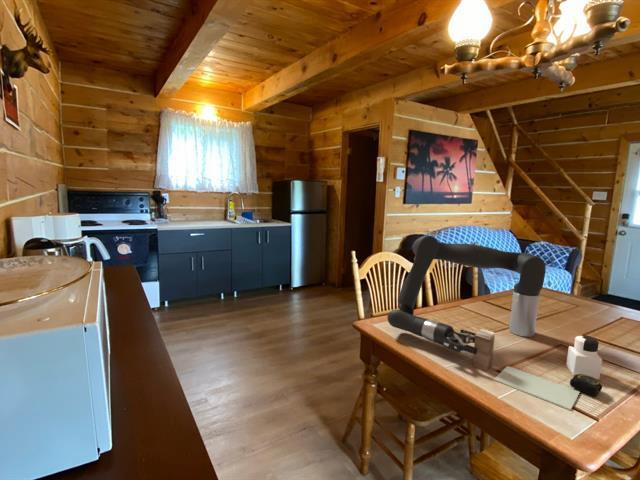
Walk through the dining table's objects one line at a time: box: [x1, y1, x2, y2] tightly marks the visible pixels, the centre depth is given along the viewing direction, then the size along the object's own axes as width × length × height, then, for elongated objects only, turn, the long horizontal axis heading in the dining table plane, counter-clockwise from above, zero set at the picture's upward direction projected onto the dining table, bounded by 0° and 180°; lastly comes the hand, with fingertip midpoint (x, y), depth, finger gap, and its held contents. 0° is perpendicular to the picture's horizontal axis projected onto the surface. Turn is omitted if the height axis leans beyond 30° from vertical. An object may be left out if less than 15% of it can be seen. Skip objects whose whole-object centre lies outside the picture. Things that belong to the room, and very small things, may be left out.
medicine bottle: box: [565, 335, 603, 380], centre depth 114 cm, size 7×7×12 cm
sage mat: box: [493, 365, 581, 411], centre depth 106 cm, size 12×20×1 cm, turn 44°
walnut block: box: [472, 328, 496, 372], centre depth 116 cm, size 4×4×12 cm
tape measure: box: [569, 374, 603, 397], centre depth 104 cm, size 7×7×4 cm
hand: (482, 347), depth 117 cm, fingers open, 8 cm apart
